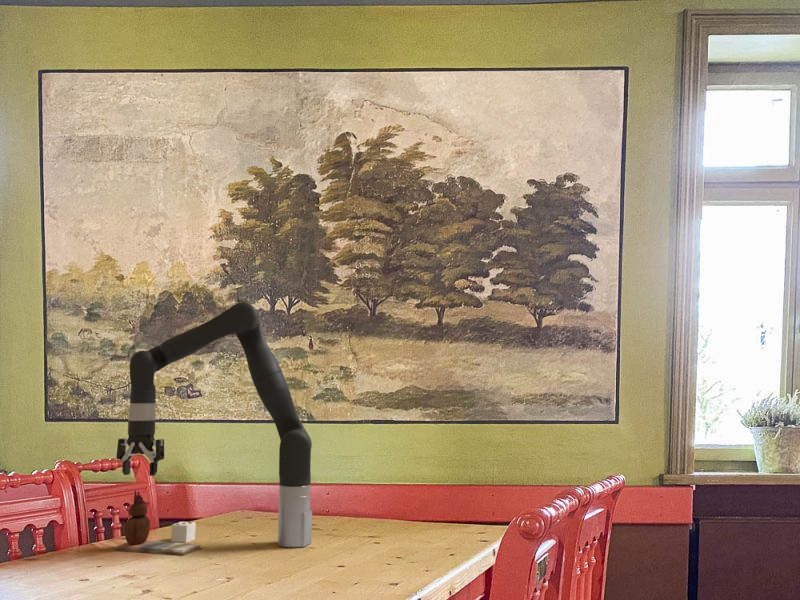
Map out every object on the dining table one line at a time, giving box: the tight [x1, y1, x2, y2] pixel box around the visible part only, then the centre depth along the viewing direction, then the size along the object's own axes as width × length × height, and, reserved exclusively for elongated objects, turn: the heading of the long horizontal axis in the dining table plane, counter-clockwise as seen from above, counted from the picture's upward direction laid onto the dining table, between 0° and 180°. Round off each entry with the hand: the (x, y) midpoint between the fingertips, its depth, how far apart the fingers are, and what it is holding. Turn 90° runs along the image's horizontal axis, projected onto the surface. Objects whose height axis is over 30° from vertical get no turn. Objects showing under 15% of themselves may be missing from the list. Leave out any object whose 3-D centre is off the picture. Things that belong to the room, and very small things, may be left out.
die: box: [170, 521, 196, 543], centre depth 206 cm, size 5×5×5 cm
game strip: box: [113, 540, 201, 557], centre depth 195 cm, size 22×9×1 cm, turn 77°
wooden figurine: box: [124, 490, 151, 545], centre depth 197 cm, size 7×6×15 cm
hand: (139, 475), depth 199 cm, fingers open, 8 cm apart
